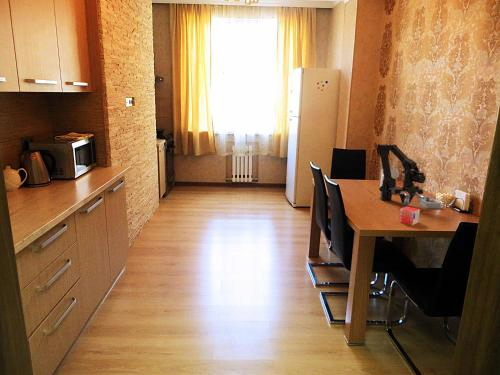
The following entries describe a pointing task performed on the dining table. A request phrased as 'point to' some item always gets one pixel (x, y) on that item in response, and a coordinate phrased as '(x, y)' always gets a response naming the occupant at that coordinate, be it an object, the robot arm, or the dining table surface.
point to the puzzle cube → (409, 215)
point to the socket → (430, 203)
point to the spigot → (406, 200)
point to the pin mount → (422, 198)
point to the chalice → (393, 172)
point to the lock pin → (420, 195)
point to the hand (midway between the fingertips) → (405, 203)
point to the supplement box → (382, 179)
